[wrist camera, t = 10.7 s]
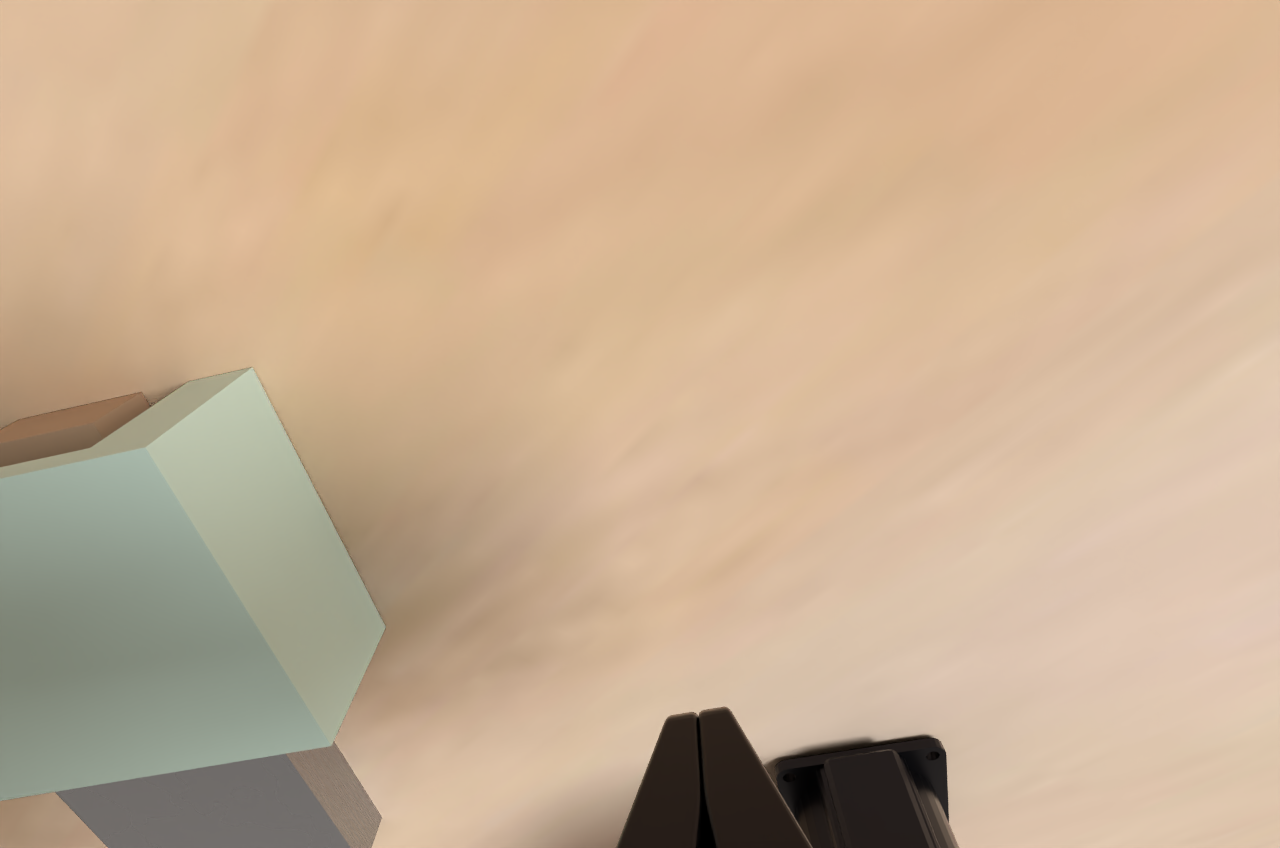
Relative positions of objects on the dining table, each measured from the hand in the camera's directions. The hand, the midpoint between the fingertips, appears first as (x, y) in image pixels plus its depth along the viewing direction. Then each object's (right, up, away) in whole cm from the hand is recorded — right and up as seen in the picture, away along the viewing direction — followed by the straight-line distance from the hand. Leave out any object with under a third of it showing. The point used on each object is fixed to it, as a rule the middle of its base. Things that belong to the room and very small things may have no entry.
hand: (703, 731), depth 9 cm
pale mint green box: (-19, 0, +14) cm, 23 cm away
